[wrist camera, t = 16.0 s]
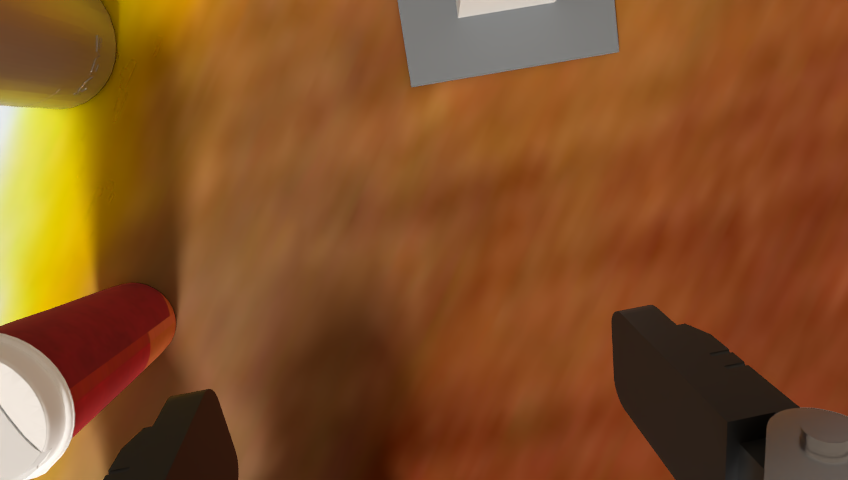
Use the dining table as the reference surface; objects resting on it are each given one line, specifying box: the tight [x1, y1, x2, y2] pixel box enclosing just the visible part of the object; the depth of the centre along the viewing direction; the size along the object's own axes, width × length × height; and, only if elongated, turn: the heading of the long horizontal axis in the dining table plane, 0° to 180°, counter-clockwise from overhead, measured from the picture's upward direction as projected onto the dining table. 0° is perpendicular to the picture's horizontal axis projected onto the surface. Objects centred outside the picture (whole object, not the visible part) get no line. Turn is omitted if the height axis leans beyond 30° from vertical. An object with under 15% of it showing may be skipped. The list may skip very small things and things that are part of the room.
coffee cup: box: [0, 283, 176, 480], centre depth 35 cm, size 8×8×15 cm
